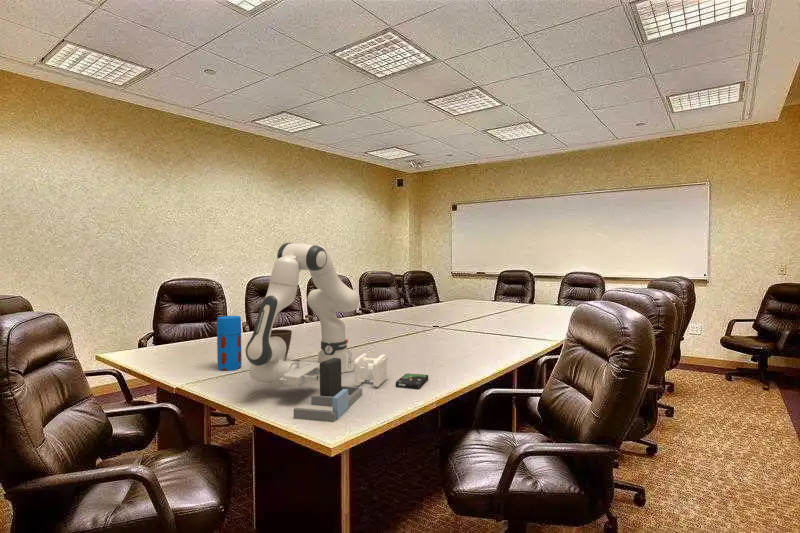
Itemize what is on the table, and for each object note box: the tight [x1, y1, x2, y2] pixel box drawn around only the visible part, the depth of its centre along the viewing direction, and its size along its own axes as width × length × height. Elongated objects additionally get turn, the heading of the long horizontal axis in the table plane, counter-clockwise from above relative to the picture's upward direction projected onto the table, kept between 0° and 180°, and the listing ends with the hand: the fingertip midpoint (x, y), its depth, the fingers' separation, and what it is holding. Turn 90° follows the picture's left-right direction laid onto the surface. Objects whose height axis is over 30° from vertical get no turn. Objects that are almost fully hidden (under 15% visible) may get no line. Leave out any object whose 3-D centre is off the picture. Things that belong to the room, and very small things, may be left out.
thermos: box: [216, 315, 243, 372], centre depth 210 cm, size 11×11×25 cm
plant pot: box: [270, 329, 293, 361], centre depth 220 cm, size 15×15×16 cm
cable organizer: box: [353, 352, 389, 388], centre depth 184 cm, size 15×11×12 cm
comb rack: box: [293, 385, 363, 423], centre depth 157 cm, size 28×15×7 cm, turn 166°
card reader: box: [319, 358, 342, 397], centre depth 164 cm, size 9×4×15 cm, turn 149°
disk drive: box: [395, 372, 429, 390], centre depth 184 cm, size 10×3×15 cm
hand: (322, 374), depth 165 cm, fingers open, 8 cm apart
